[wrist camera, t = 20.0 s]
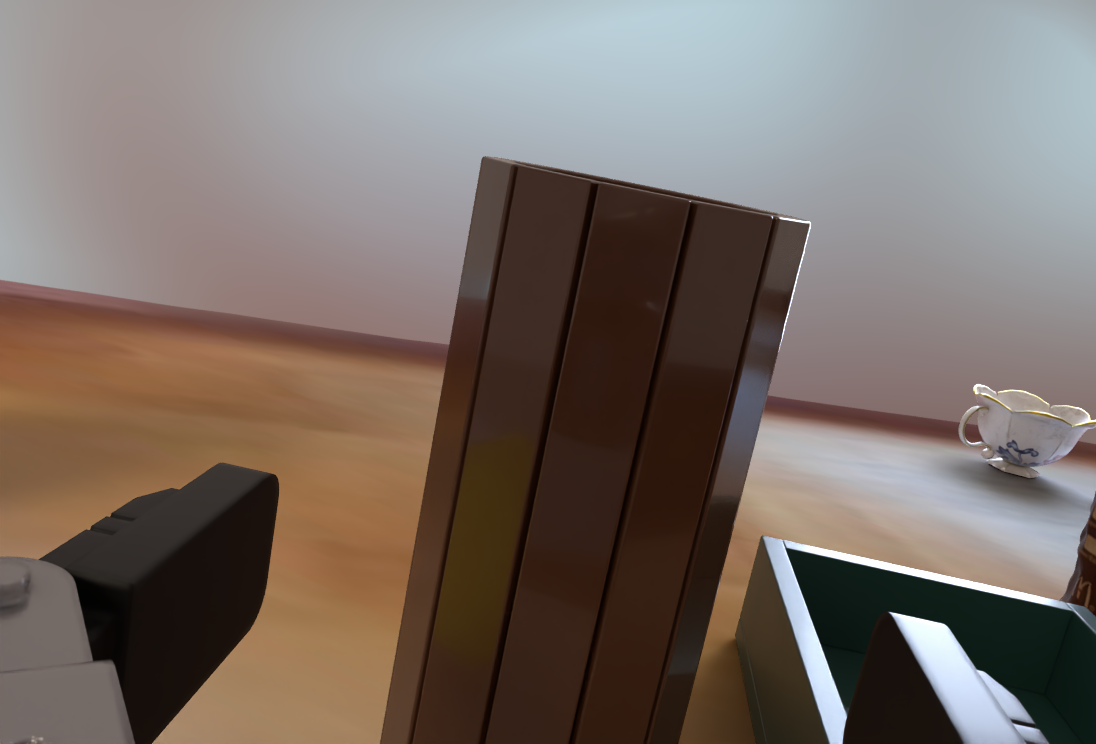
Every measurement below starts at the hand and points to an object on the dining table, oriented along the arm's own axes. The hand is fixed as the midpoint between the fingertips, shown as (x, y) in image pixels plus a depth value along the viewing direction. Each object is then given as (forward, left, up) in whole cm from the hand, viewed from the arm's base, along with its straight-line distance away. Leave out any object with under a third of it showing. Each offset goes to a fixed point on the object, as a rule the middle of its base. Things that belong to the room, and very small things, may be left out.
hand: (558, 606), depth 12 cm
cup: (0, +7, -11) cm, 13 cm away
